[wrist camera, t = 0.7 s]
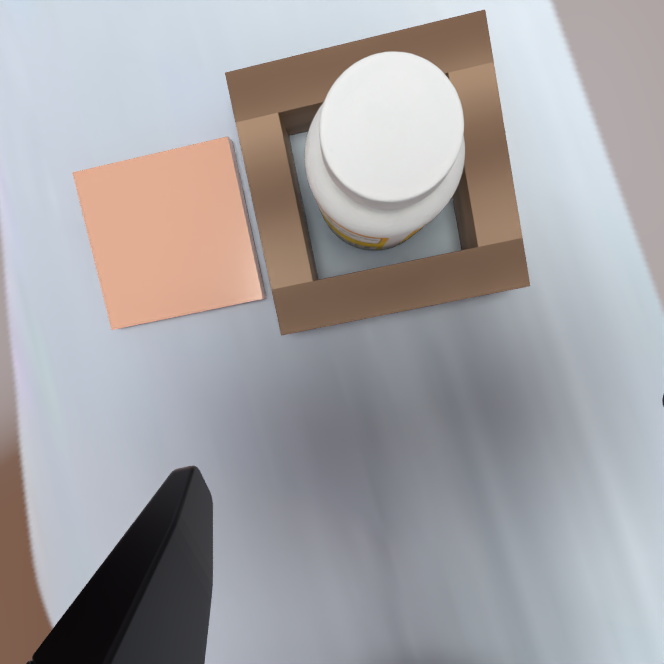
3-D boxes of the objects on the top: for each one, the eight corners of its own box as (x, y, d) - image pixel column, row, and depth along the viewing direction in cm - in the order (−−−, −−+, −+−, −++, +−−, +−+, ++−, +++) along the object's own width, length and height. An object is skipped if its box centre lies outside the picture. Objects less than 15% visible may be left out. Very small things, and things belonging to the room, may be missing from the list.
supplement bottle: (333, 262, 23) (316, 248, 13) (307, 151, 22) (270, 53, 13) (443, 235, 22) (507, 201, 13) (419, 121, 22) (467, -2, 12)
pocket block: (507, 285, 22) (530, 286, 19) (291, 328, 23) (281, 335, 20) (467, 47, 21) (485, 9, 18) (242, 101, 22) (225, 72, 19)
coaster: (266, 298, 23) (262, 298, 22) (119, 328, 24) (111, 329, 23) (232, 141, 22) (227, 136, 22) (82, 176, 23) (72, 172, 22)
